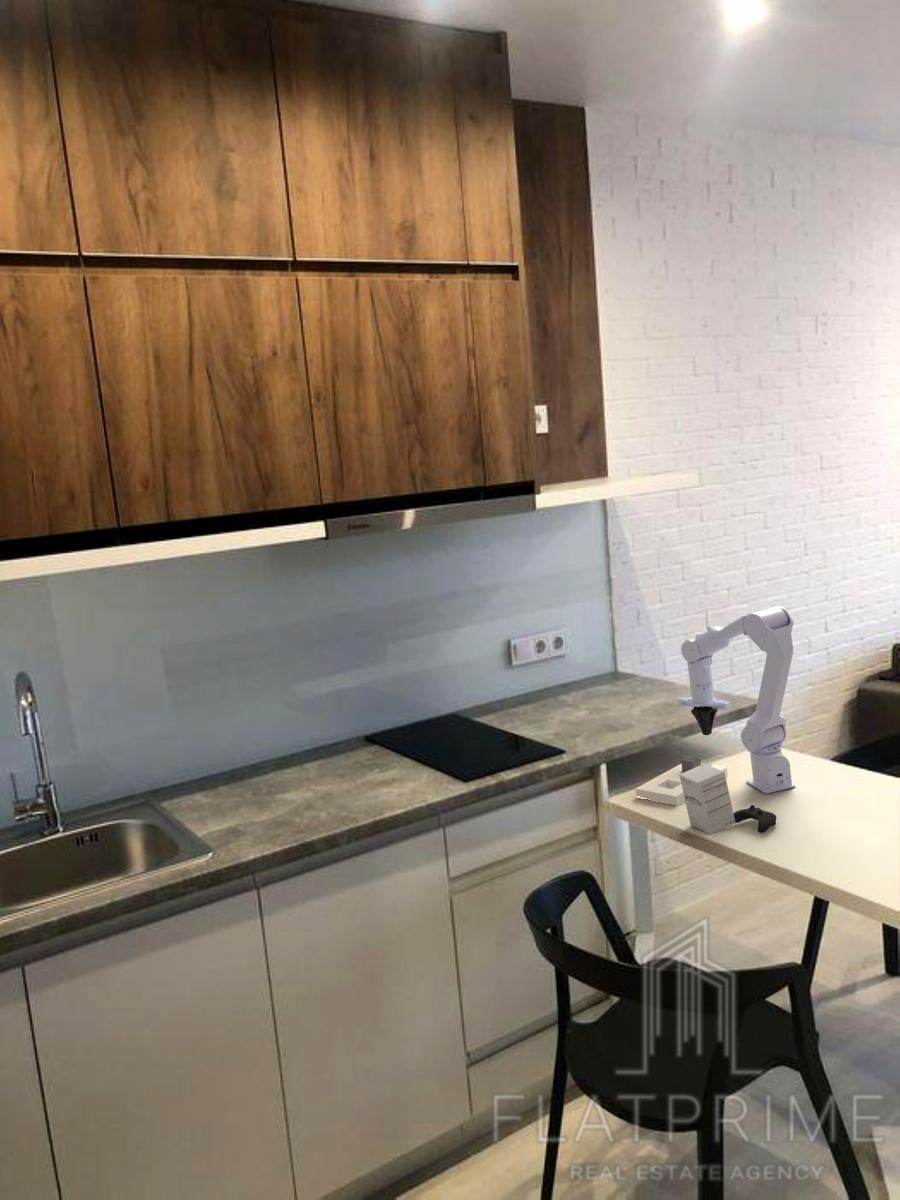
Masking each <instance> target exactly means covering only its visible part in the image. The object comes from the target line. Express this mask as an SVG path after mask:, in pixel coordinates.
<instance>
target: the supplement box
mask: <svg viewBox="0 0 900 1200" xmlns="http://www.w3.org/2000/svg"><path fill="white" fill-rule="evenodd" d="M706 764H707V763H705V764H703V765H700V766H698V767H695V768H693V769H691V770H689V771H686V772H684V773H682V774H680V775H679V776H680V780H681V784H682V789H683V793H684V798H685V802H684V803H685V806H686V811H687V815H688V819H689V825H690V826H693V827H695V828H697V829H699V830H700V831H702V830H703V832H704V833H706V834H709V835H710V834H711V835H713V834H715V833H716V832H720V831H721V830H724V829H726V828H728V827H730V826H732V825H734V824H736V823H735V818H734V809H733V805H732V800H731V794H730V791H729V788H728V781H727V777H726V776H725V772H724V771H721V770H719V769H716V768H714V767H711V766H709V765H706Z"/></svg>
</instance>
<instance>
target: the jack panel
mask: <svg viewBox="0 0 900 1200" xmlns="http://www.w3.org/2000/svg"><path fill="white" fill-rule="evenodd" d="M703 764H706V765H709V766H711V767H714V768H716V769H719V770H721V771H724V772H725V776H726V778H728V768H727V766H721V765H716V764H711V763H704V762H701V765H703ZM682 773H683V772H682V764H681V763H680V764H678V765H676V766H674V767H673V768H670V769H669V770H667V771H665V772H663V773H661V774H659V775H658V776H656V777H654V778H652V779H650V780H649V781H646V782H645V783H643V784H641V785H639V786H638V787H635V796H636V795H637V796H640V797H643V798H647V799H650V800H654V801H657V802H656V803H658V802H662V803H661V804H663V803H667V804H666V805H668V804H672V805H671V806H673V805H675V806H674V807H679V806H680V804H681V805H683V804H684V803H686V802H685V798H684V793H683V789H682V784H681V780H680V776H679V775H680V774H682ZM678 805H679V806H678Z"/></svg>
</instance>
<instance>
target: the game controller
mask: <svg viewBox="0 0 900 1200" xmlns="http://www.w3.org/2000/svg"><path fill="white" fill-rule="evenodd" d="M733 813H734V818H735V823H734V824H737V823H741V822H744V821H746V820H756V821H757V827H756V828H757V832H758V833H760V834H763V833H765V832H767V831H768V830H769V829H770V828H771V827H775V826H776V825H777V819H778V817H777V815H776V814H774V813H773V812H770V811H768V810H765V809H762V808H760V807H756V805H754V804H750V806H749V807H747V808H743V809H739V810H736V811H733Z"/></svg>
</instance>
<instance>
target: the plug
mask: <svg viewBox="0 0 900 1200" xmlns="http://www.w3.org/2000/svg"><path fill="white" fill-rule="evenodd" d="M680 761H681V762H680V764H682V772H683V773H684V772H686V771H689V770H691V769H693V768H695V767H698V766H700V765H701V763H702V762H701V757H698V756H692V755H688V756H686V757H684V758H682V759H681V760H680Z"/></svg>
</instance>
